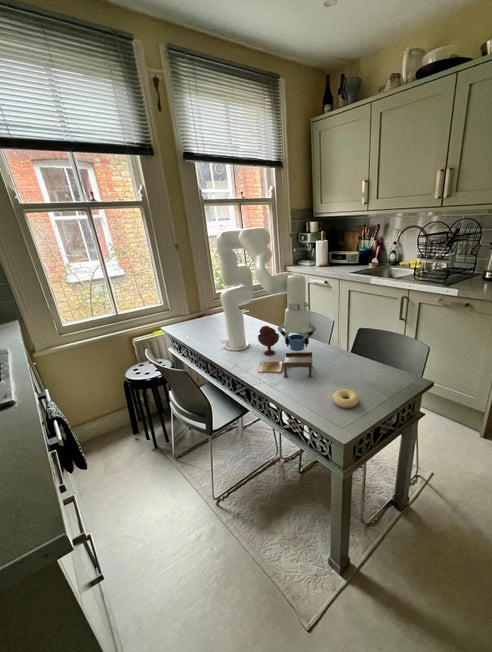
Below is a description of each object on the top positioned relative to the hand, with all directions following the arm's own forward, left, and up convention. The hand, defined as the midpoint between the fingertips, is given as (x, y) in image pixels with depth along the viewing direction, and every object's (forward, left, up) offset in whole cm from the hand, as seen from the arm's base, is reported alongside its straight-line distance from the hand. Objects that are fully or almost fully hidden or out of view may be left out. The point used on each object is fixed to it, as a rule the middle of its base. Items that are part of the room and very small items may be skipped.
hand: (297, 345), depth 137 cm
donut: (+19, -24, -13) cm, 34 cm away
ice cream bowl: (-16, +20, -13) cm, 28 cm away
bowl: (0, 0, -1) cm, 1 cm away
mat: (-13, +4, -13) cm, 18 cm away
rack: (0, 0, -13) cm, 13 cm away
